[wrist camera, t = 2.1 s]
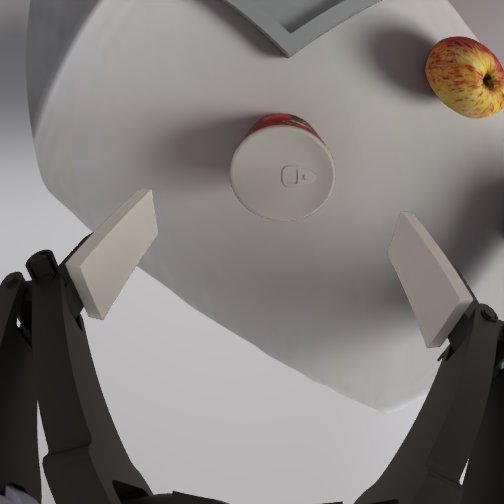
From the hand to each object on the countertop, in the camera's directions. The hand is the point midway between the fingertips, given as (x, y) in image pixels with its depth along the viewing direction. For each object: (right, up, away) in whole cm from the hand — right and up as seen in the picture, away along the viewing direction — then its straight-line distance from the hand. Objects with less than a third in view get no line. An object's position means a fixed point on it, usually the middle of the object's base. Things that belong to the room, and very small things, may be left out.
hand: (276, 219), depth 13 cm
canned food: (+2, +10, +15) cm, 18 cm away
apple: (+21, +19, +7) cm, 29 cm away
